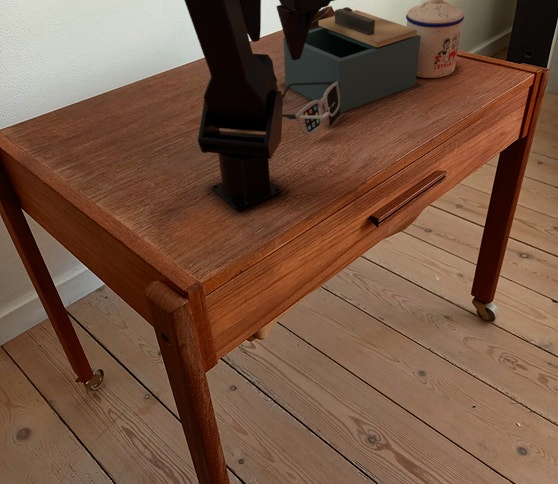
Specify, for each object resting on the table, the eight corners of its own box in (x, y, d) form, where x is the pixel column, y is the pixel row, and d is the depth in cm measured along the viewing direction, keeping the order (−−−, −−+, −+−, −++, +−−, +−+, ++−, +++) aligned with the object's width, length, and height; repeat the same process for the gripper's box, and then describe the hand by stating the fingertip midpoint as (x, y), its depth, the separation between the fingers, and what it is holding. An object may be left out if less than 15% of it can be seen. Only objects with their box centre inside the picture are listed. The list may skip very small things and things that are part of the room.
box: (415, 85, 95) (420, 35, 90) (338, 113, 88) (340, 61, 83) (358, 62, 104) (360, 15, 99) (285, 86, 97) (283, 37, 92)
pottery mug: (339, 65, 104) (316, 22, 100) (306, 76, 112) (283, 37, 108) (376, 28, 109) (355, -14, 105) (342, 41, 116) (321, 3, 113)
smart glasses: (328, 148, 79) (321, 113, 76) (244, 144, 87) (235, 112, 84) (367, 111, 86) (362, 78, 83) (286, 111, 94) (279, 80, 91)
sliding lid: (416, 35, 89) (418, 15, 87) (377, 47, 86) (378, 27, 84) (356, 14, 98) (356, -4, 96) (318, 25, 95) (318, 7, 93)
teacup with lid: (440, 83, 95) (451, 6, 87) (391, 72, 99) (397, -2, 92) (472, 60, 102) (484, -13, 94) (424, 51, 106) (433, -20, 99)
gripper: (378, -93, 63) (370, 54, 73) (279, -108, 75) (284, 20, 85) (295, -78, 58) (298, 76, 69) (203, -97, 70) (218, 37, 81)
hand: (275, 50), depth 76 cm, fingers open, 9 cm apart
